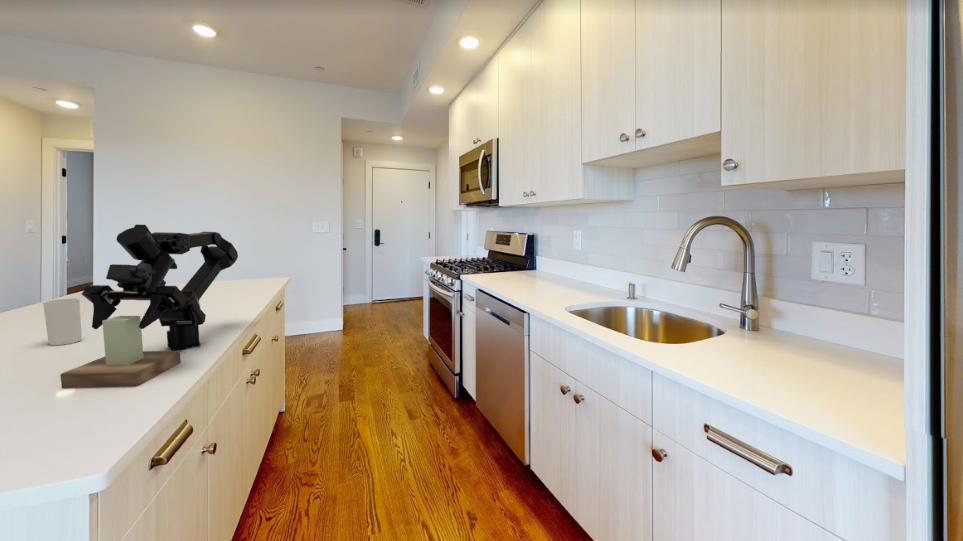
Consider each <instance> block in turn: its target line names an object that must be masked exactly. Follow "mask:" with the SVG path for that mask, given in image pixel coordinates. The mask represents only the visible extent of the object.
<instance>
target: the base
mask: <svg viewBox="0 0 963 541" xmlns="http://www.w3.org/2000/svg"><path fill="white" fill-rule="evenodd" d="M181 362H182V360H181V351H180V350H157V351H155V350H154V351H153V350H152V351H151V350H150V351H147V350H143V358H142V359H140V360H138V361H136V362H134V363H131V364H129V365H106V358H105V356H101V357H100V358H98V359H95V360H92V361H89V362H87V363H85V364H82V365H79V366H77V367H74V368H71V369H69V370H67V371H64V372H62V373H59V374H60V382H61V383H60V384H61V388H62V389H71V388H73V387H75V388H78V387H79V388H80V387H81V388H112V387H115V388H117V387H120V388H121V387H138V386H140V385H142V384H143V383H146V382H148V381H150V380H151V379H153V378H155V377H157V376H158V375H160V374H162V373H164V372H166V371H168V370H170V369H171V368H173V367H176V366H178V364H181ZM81 388H80V389H81ZM73 389H74V388H73Z"/></svg>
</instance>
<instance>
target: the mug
mask: <svg viewBox="0 0 963 541" xmlns="http://www.w3.org/2000/svg"><path fill="white" fill-rule="evenodd" d="M42 303H43V304H42V305H43V311H44V319H45V327H46V333H47V334H46V335H47V341H48V345H50V346H64V344H66V345H71V344H70V343H72V344H76V343H79V342H81V341H82V339H83V338H82V321H81V317H82V316H81V304H80V298H77V297H70V298H68V297H65V298H53V299H48V300H44V301H42ZM78 341H79V342H78ZM75 342H76V343H75Z"/></svg>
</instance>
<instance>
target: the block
mask: <svg viewBox="0 0 963 541" xmlns="http://www.w3.org/2000/svg"><path fill="white" fill-rule="evenodd" d="M141 320H142V318H141V315H117V316H115V317H114V316H113V317H109V318H108V319H106V320H103V321H102V323H103V324H102V333H103V334H102V335H103V342H104V343H103V344H104V354H105V355H104V357H105V358H106V365H129V364H131V363H134V362H136V361H138V360H140V359H142V358H143V351H144V348H143V346H144V345H143V333H142V329H141V328H139V325H140V322H141Z"/></svg>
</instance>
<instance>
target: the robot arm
mask: <svg viewBox="0 0 963 541" xmlns="http://www.w3.org/2000/svg"><path fill="white" fill-rule="evenodd" d="M116 242H117V243H118V244H119V245H120V246H121V247H122V248H123V250H124V251H125V252H127V253H128V254H129V256H130V257H131V258H133V259H134V260H137V261H140V262H138V263H137V264H135V265H134V264H109V265H108V268H107V269H108V270H107V273H106V276H105V279H106V280H112V281H114V282H117V284H116V286H117V287H118V288H120V289H122V290H114V289H113V287H111V286H110V285H108V284H107V285H105V284H102V285H101V284H91V285H87V286H86V287H85V288H84V289H83V291H82V293H81V295H82V296H83V297H84V298H85V299H87V300H88V301H90V303H92V305H93V313H92V321H91V322H92V323H91V327H92V328H93V329H94V330H98V329H99V328H100V327H101V326H103V323H102V321H103V320H106V319H110V318H111V316H112V315H113V314H114V313H115V311H117V306H119V304H120V303H121V302H122V300H123V301H140V302H141V301H149V306H148V308H147V309H146V311H145V313H143V316H142V318H141V322H140V325H139V328H141V330H144V329H146V328H147V327H148V326H150V325H151V324H153V323H154V322H156V321H157V320H159V323H160V325H161V327H168V330H166V340H167V342H166V344H167V348H170V351H179V350H183V349H190V348H196V347H201V345H202V344H201V342H200V332H199V331H200V327H199V326H200V325H204V324H205V322H206V316H207V314H205V312H204V311H203V310H202V309H201V304H200V300H201V298H202V297H203V295H204V294H205V293H206V291H207V290H208V289H209V287H210V286H211V285H212V283H213V282H214V281H215V279H216V278H217V276H218V275H219V274H220V273H221V271H224V270H226V269H228V268H230V267H232V266H233V265H234V264H235V263H236V262H237V260H238V258H239V254H238V251H237V249H236V248H235V246H234V244H233V243H231V242H230V241H228V240H227V239H225V238H224V237H223V236H222V235H221V233H220V232H217V231H201V232H195V233H194V232H193V233H184V232H165V231H164V232H163V231H162V232H161V231H160V232H159V231H158V232H157V231H156V232H151V231H150V229H149V228H148V227H147V225H146V224H137V223H136V224H135V225H134V226H133V227H130V228H127V229H125V230H123V231H121V232H119V233H118V234H117V236H116ZM197 247H198V248H199V247H201V248H200V254H201V255H202V257H203V260H204V261H203V263H202V265H201V266H200V267H198V269H197V270H196V272H194V274H193V276H191V278H190V279H189V280H188V282H186V284H185V285H184V286H183V287H182V289H181V290H180V288H179V287H178V286H177V285H166V284H167V282H166V280H165V278H166V276H167V275H168V274H167V273H169V270H177V269H178V264H177V262H176V261H175V258H173V257H172V256H171V255H184V254H186V253H188V252H190V250H191V249H193V248H197Z"/></svg>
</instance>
